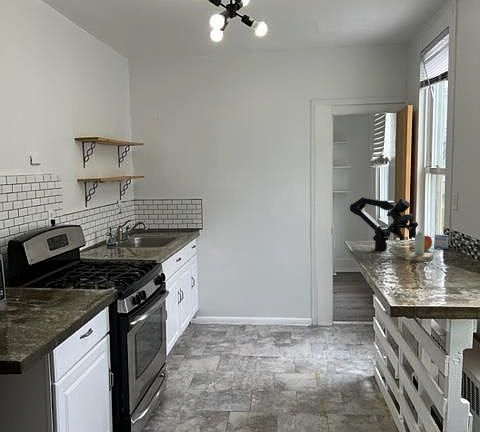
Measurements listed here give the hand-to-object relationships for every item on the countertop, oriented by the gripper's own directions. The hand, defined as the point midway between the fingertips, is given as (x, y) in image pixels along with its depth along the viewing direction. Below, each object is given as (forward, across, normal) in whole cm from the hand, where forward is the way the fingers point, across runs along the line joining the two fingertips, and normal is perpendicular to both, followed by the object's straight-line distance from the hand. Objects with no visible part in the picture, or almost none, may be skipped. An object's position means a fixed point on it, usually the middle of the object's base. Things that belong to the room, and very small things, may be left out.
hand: (409, 238), depth 277 cm
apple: (+1, +20, +14) cm, 25 cm away
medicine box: (-2, +38, +17) cm, 41 cm away
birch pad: (+13, 0, +1) cm, 13 cm away
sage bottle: (+12, 0, 0) cm, 12 cm away
